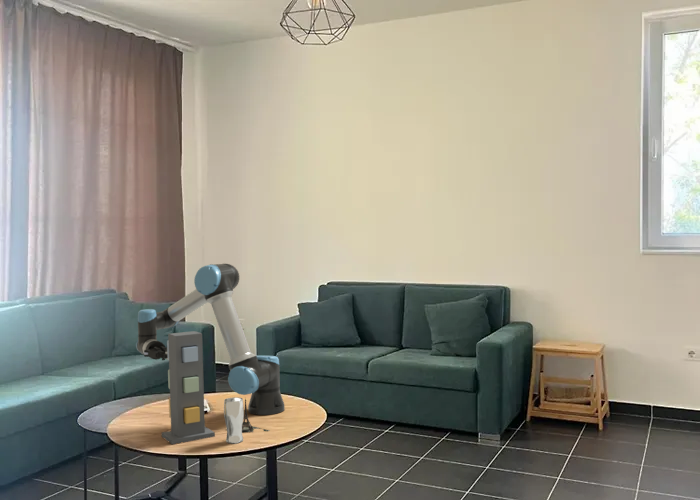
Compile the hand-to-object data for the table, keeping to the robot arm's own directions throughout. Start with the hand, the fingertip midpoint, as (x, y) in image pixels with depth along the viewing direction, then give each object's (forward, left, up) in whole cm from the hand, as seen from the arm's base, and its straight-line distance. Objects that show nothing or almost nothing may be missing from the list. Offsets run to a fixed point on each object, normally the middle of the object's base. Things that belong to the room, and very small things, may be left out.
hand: (172, 357), depth 263 cm
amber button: (-7, +12, -22) cm, 25 cm away
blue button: (-7, +12, 0) cm, 13 cm away
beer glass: (-26, +21, -27) cm, 43 cm away
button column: (-8, +13, -27) cm, 31 cm away
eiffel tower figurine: (-29, +8, -28) cm, 41 cm away
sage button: (-7, +12, -11) cm, 17 cm away
